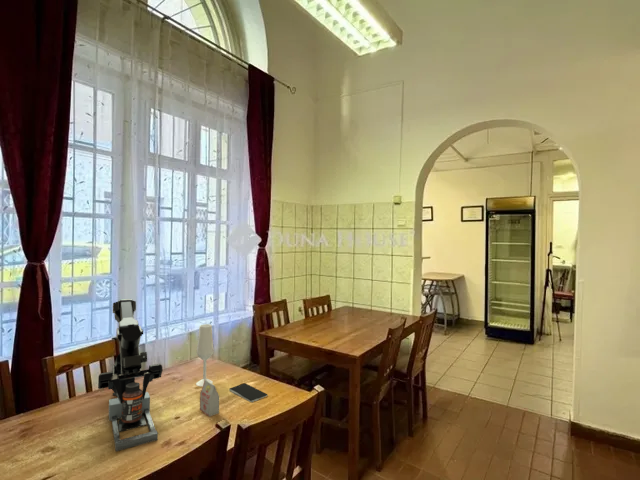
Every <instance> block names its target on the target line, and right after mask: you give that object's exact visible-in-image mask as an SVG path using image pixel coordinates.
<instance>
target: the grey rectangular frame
mask: <svg viewBox="0 0 640 480" xmlns="http://www.w3.org/2000/svg"><path fill="white" fill-rule="evenodd" d="M150 412H151V411H150ZM150 412H149V409H148V408H147V409H144V413H142V417H141V419H140V420H138V421H136V422H133V423H124V422H122V420H121V418H120V419H116V416H112V420H111V427H112V434H113V442H114V447H115V452H118V451H123V450H126V449H131V448H134V447H137V446H140V445H144V444H149V443H151V442H155V441H158V434H159V433H158V431H157V429H156V427H155V425H154V421H153V418H152V416H151V413H150ZM145 426H146V427H148V429H149V432H144V433H141V434H137V435H133V436H129V437H126V438H122V439H121V437H120V433H121V432H122V433H123V432H125V431H130V430H133V429H137V428H141V427H145Z"/></svg>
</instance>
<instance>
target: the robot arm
mask: <svg viewBox="0 0 640 480" xmlns="http://www.w3.org/2000/svg"><path fill="white" fill-rule="evenodd" d="M136 311H137V301H136V300H133V299H131V298H125V299H124V298H122V299H119V300H118V301H115V302H113V303H112V314H114V320H115V321H116V322H117V323H118V327H117V328H116V334H115V335H116V339H117V340H118V341H119V354H117V355H116V357H115V358H116V359H115V364H113V368H112V369H113V370H112V371H107V372H102V373H99V374H98V377H97V378H98V380H97V389H108V390H111V391H113V392H112V396H116V398H118V399H119V401H120V403H121V404H122V394H123V393H124V392H125V391H126V385H127V384H129V383H134V382H136V378H140V377H143V379H142V389H141V390H142V392H143V399H144V397H145V393H146V392H147V388H148V386H149V383H150V382H153V380H155V379H159V378H161V377H162V374H163V370H164V369H163V365H162V364H161V363H156V364H150V365H149V366H148V369H142V367H143V366H142V363H147V362H148V352H147V351H143V352H140V350H139V345H140V342H141V337H142V335H144V330H143V328H142V326H141V325H140V324H139V321H138V320H137V319H135V317H134V315H135V312H136ZM141 369H142V370H141Z"/></svg>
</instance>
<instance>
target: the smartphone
mask: <svg viewBox="0 0 640 480" xmlns="http://www.w3.org/2000/svg"><path fill="white" fill-rule="evenodd" d="M229 392H230V393H232V394H233V395H236V396H238V397H240V398H241V399H244V400H246V401H248V402H250V403H255V402H256V401H260V400H262V399H265V398H267V397H268V393H266V392H264V391H261V390H259V389H258V388H256V387H254V386H252V385H251V384H250V385H249V384H247V383H245V382H244V383H241V384H239V385H236V386H233V387H229ZM266 396H267V397H266ZM264 397H265V398H264ZM261 398H262V399H261ZM259 399H260V400H259ZM254 401H255V402H254Z"/></svg>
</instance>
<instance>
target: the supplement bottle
mask: <svg viewBox="0 0 640 480" xmlns="http://www.w3.org/2000/svg"><path fill="white" fill-rule="evenodd" d="M142 390H143V389H141V388H140V383H139V382H136V381H135V382H134V383H129V384H127V385H126V391H125V392H124V393H123V394H122V414H121V418H120V419H121V420H122V422H124V423H133V422H136V421H138V420H140V419H141V417H142V414H143V413H142V410H143V409H142V399H143V398H142V397H143V392H142Z"/></svg>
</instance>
